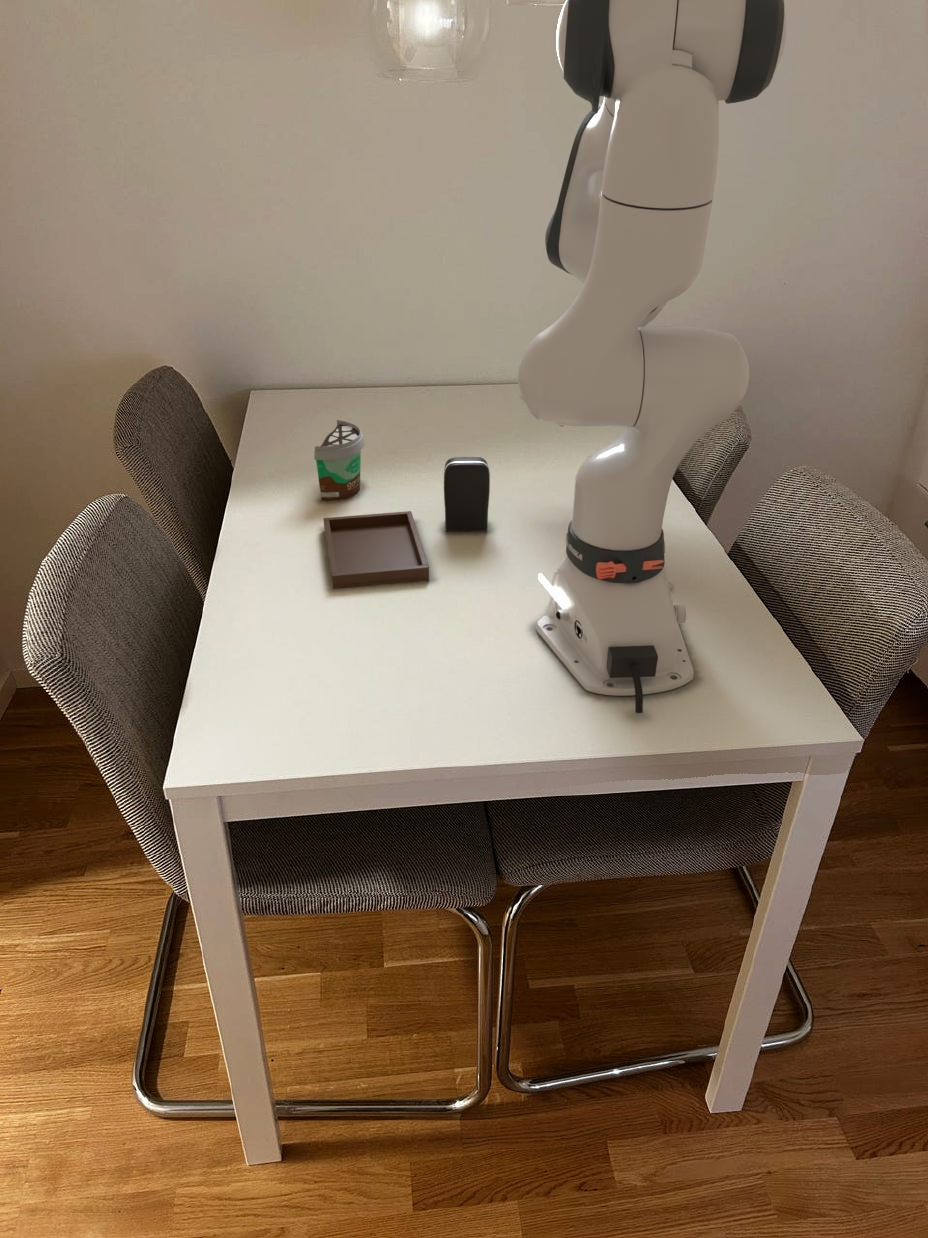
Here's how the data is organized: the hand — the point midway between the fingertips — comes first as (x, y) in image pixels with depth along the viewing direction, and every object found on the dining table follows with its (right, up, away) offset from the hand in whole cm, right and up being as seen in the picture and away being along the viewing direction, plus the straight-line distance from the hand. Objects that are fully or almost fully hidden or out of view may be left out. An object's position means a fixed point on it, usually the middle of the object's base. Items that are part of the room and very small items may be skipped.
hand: (539, 411), depth 142 cm
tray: (-25, -22, -3) cm, 33 cm away
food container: (-31, -10, +15) cm, 36 cm away
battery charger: (-11, -17, +5) cm, 21 cm away
